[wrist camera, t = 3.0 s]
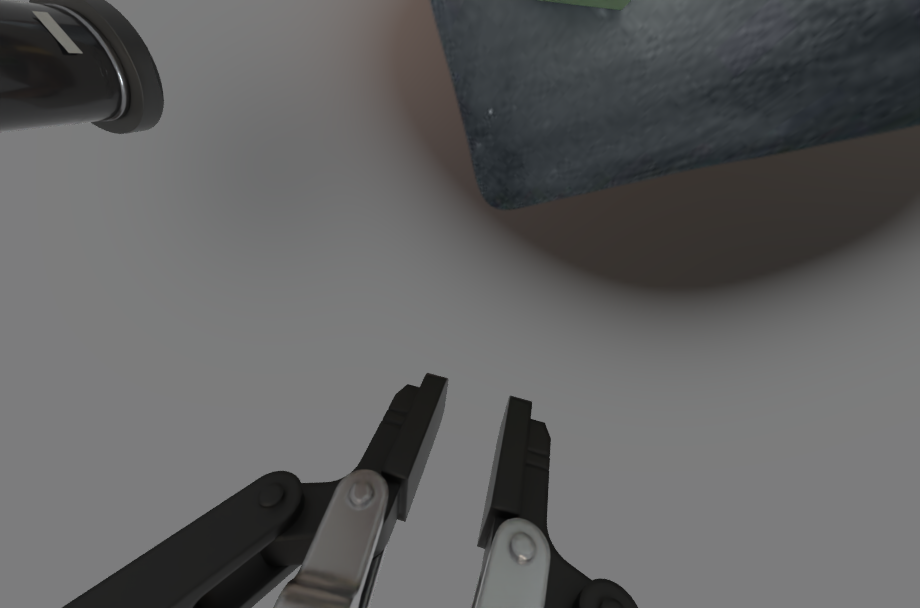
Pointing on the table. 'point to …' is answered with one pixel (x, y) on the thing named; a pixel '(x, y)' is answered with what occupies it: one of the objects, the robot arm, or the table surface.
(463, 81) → the table surface
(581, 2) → the green block
